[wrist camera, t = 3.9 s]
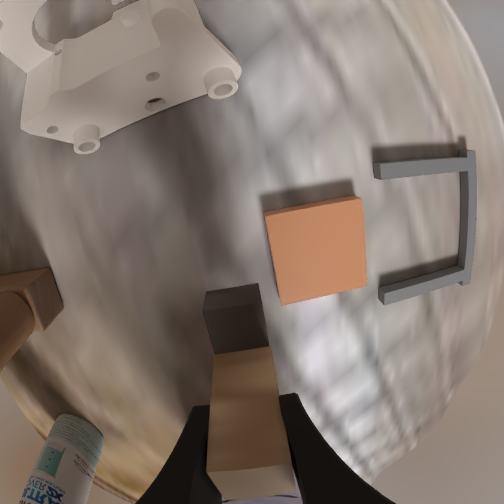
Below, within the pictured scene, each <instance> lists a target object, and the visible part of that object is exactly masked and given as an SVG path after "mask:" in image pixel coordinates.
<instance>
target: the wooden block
mask: <svg viewBox="0 0 504 504" xmlns="http://www.w3.org/2000/svg"><path fill="white" fill-rule="evenodd" d="M63 308H64V307H63V303H62V301H61V298H60V295H59V293H58V290H57V287H56V284H55V281H54V278H53V275H52V272H51V270H50V268H43V269H36V270H30V271H23V272H17V273H11V274H4V275H0V372H1V370H2V369H3V368H4V367H5V365H6V364H7V363H8V361H9V360H10V359H11V358H12V356H13V355H14V354H15V353H16V352H17V350H18V349H19V348H20V347H21V345H22V344H23V343H24V342H25V341H26V339H27V338H28V337H29V336H30V335H31V334H32V332H33V331H44V330H46V328H47V327H48V326H49V325H50V324H51V323H52V321H53V320H54V319H55V318H56V317H57V316H58V314H59V313H60V312H61V311H62V310H63Z"/></svg>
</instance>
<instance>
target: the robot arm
mask: <svg viewBox="0 0 504 504" xmlns="http://www.w3.org/2000/svg"><path fill="white" fill-rule="evenodd" d="M278 398H279V404H280V409H281V415H282V418H283V422H284V425H285V428H286V434H287V439H288V445H289V450H290V456H291V461H292V467H293V474H294V480H295V487H296V492H294V493H288V494H282V495H275V496H267V497H259V498H248V499H235V500H225V498H224V497H223V496H222V494H221V493H220V491H219V490H218V489H217V487H216V486H215V484H214V483H213V481H212V480H211V478H210V477H209V475H208V474H207V472H206V467H207V448H208V431H209V415H210V405H205V406H194V407H193V408H192V411H191V413H190V415H189V418H188V419H187V423H186V425H185V427H184V429H183V431H182V433H181V436H180V438H179V439H178V441H177V443H176V445H175V447H174V449H173V451H172V453H171V455H170V456H169V458H168V460H167V461H166V463H165V465H164V466H163V468H162V470H161V471H160V473H159V474H158V476H157V477H156V479H155V480H154V481H153V483H152V484H151V485H150V487H149V488H148V489H147V491H146V492H145V493H144V494H143V495H142V497H141V498H140V499H139V500H138V501H137V502H136V503H135V504H396V503H394V502H392V501H391V500H389V499H388V498H386V497H385V496H383V495H382V494H381V493H379V492H378V491H377V490H375V489H374V488H373V487H371V486H370V485H369V484H368V483H366V482H365V481H364V480H363V479H362V478H360V477H359V476H358V475H357V474H356V473H355V472H354V471H353V470H352V469H351V468H350V467H349V466H348V465H347V464H346V463H345V462H344V461H343V460H342V459H341V458H340V457H339V456H338V455H337V454H336V453H335V451H334V450H333V449H332V448H331V447H330V446H329V444H328V443H327V442H326V441H325V439H324V438H323V437H322V435H321V434H320V432H319V431H318V430H317V428H316V427H315V425H314V424H313V422H312V421H311V419H310V418H309V416H308V414H307V413H306V411H305V409H304V407H303V405H302V403H301V401H300V399H299V396H298V394H296V393H291V394H285V395H280V397H278Z"/></svg>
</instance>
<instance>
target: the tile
mask: <svg viewBox="0 0 504 504" xmlns="http://www.w3.org/2000/svg"><path fill="white" fill-rule="evenodd" d="M263 213H264V218H265V223H266V229H267V234H268V239H269V245H270V250H271V255H272V261H273V266H274V272H275V277H276V283H277V288H278V294H279V299H280V302H281V306H282V305H286V304H291V303H296V302H300V301H305V300H309V299H314V298H318V297H322V296H326V295H331V294H335V293H339V292H343V291H347V290H351V289H355V288H359V287H363V286H367V269H366V248H365V232H364V219H363V208H362V198H360V197H357V196H355V195H353V196H348V197H342V198H336V199H331V200H325V201H319V202H314V203H309V204H303V205H298V206H293V207H287V208H282V209H277V210H272V211H267V212H263Z"/></svg>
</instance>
